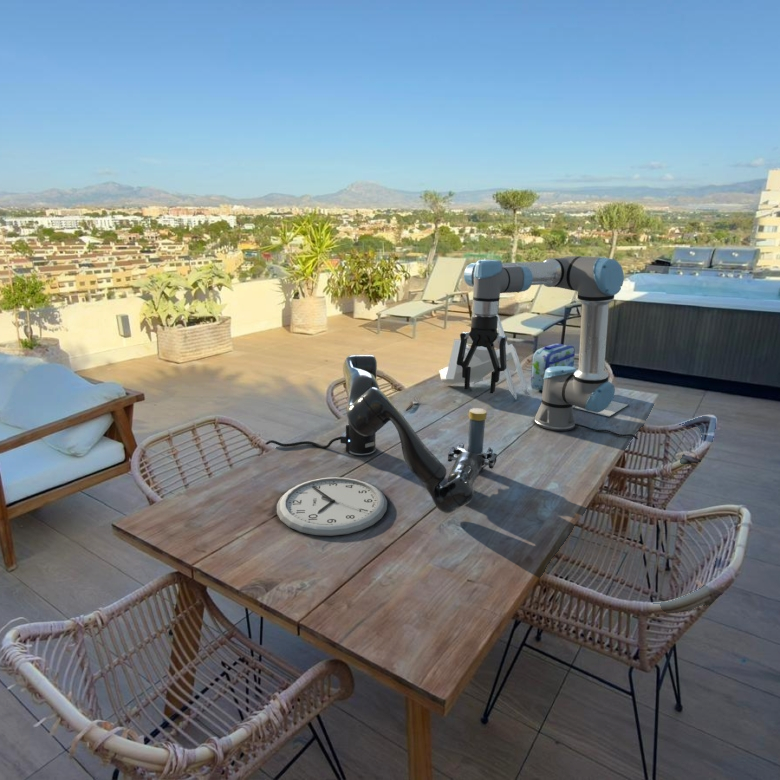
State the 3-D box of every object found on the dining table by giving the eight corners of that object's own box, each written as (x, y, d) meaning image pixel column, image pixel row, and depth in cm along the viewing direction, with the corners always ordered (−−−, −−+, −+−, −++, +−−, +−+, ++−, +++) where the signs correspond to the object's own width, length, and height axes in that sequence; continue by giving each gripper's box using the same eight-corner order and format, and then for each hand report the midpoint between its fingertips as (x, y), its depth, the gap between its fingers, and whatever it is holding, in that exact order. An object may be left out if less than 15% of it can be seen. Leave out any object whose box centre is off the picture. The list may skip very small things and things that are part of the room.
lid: (475, 421, 157) (476, 414, 157) (465, 416, 162) (465, 409, 161) (489, 419, 160) (490, 412, 159) (479, 413, 164) (479, 407, 164)
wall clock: (392, 527, 129) (268, 531, 127) (391, 533, 130) (269, 537, 127) (383, 473, 158) (282, 475, 155) (383, 478, 158) (282, 480, 156)
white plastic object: (461, 429, 252) (437, 405, 227) (444, 352, 274) (420, 323, 250) (535, 404, 240) (518, 377, 215) (510, 326, 262) (492, 293, 237)
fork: (403, 411, 216) (403, 406, 215) (414, 400, 230) (414, 395, 230) (409, 412, 215) (409, 407, 215) (420, 400, 229) (420, 396, 229)
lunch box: (547, 395, 239) (552, 351, 233) (526, 390, 247) (530, 347, 240) (574, 384, 257) (579, 343, 251) (554, 380, 264) (558, 339, 258)
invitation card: (608, 416, 214) (573, 407, 224) (608, 416, 214) (573, 408, 224) (628, 404, 229) (594, 396, 238) (628, 405, 229) (594, 397, 238)
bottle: (472, 473, 163) (476, 415, 157) (463, 467, 167) (467, 411, 161) (484, 470, 165) (488, 413, 159) (475, 464, 169) (479, 409, 163)
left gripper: (491, 461, 148) (499, 440, 162) (442, 453, 152) (454, 434, 167) (489, 485, 150) (497, 462, 165) (441, 476, 154) (453, 455, 169)
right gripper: (522, 316, 150) (515, 392, 157) (456, 310, 159) (452, 382, 166) (516, 319, 144) (509, 398, 151) (447, 313, 152) (443, 388, 159)
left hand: (476, 448), depth 166 cm, fingers open, 8 cm apart
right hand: (479, 390), depth 158 cm, fingers open, 7 cm apart
